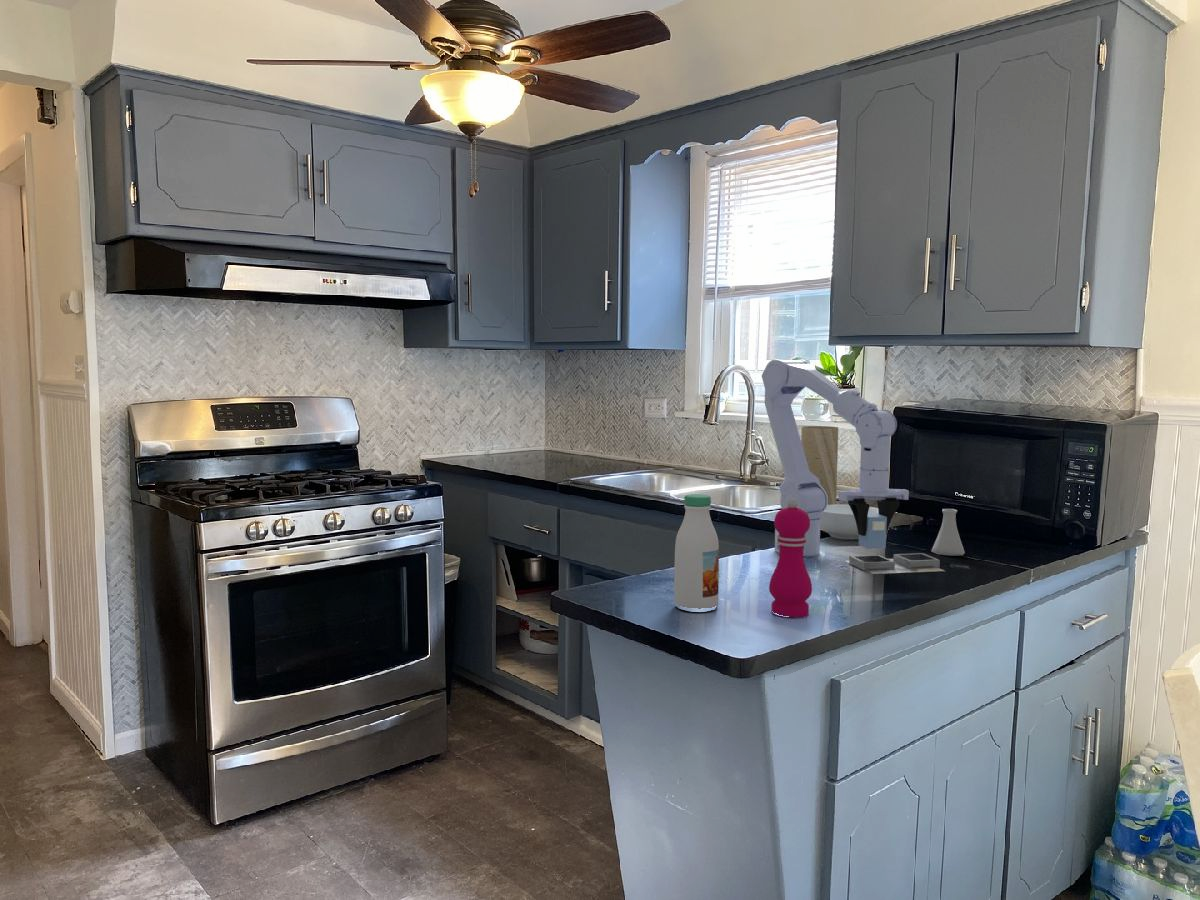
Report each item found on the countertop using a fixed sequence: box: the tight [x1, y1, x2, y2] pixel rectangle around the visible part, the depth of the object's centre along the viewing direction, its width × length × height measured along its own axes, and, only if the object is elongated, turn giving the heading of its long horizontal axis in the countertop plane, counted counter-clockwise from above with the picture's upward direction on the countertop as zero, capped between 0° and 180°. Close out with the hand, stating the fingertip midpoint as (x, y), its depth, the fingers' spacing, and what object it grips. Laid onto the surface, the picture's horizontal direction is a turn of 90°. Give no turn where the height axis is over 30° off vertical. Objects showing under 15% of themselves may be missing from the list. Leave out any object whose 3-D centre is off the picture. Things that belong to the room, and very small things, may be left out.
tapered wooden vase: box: [800, 425, 839, 505], centre depth 249 cm, size 10×10×25 cm
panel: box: [845, 552, 946, 575], centre depth 185 cm, size 17×12×3 cm
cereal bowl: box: [820, 504, 879, 540], centre depth 221 cm, size 17×17×7 cm
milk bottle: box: [673, 493, 720, 609], centre depth 156 cm, size 8×8×20 cm
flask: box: [931, 508, 966, 557], centre depth 201 cm, size 7×7×10 cm
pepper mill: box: [768, 498, 813, 618], centre depth 152 cm, size 7×7×20 cm
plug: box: [858, 514, 887, 550], centre depth 183 cm, size 4×5×6 cm
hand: (872, 534), depth 184 cm, fingers closed on plug, 4 cm apart
